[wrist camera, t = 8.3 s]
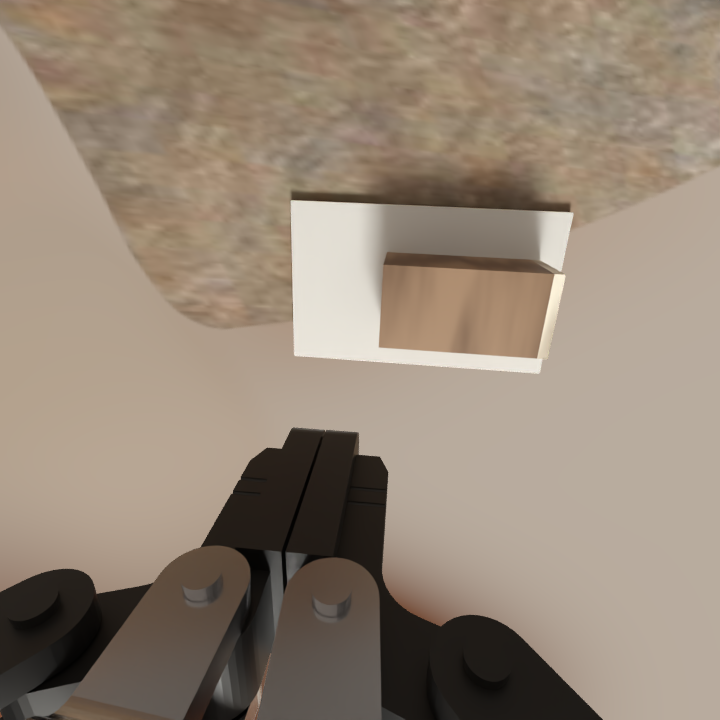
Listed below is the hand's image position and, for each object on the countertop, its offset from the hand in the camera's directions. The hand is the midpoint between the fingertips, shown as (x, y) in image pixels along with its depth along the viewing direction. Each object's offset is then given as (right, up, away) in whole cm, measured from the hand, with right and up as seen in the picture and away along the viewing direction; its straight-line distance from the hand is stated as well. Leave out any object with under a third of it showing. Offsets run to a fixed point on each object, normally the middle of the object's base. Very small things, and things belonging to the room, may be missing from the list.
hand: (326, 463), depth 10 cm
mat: (+5, +7, +20) cm, 22 cm away
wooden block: (+2, +6, +18) cm, 19 cm away
